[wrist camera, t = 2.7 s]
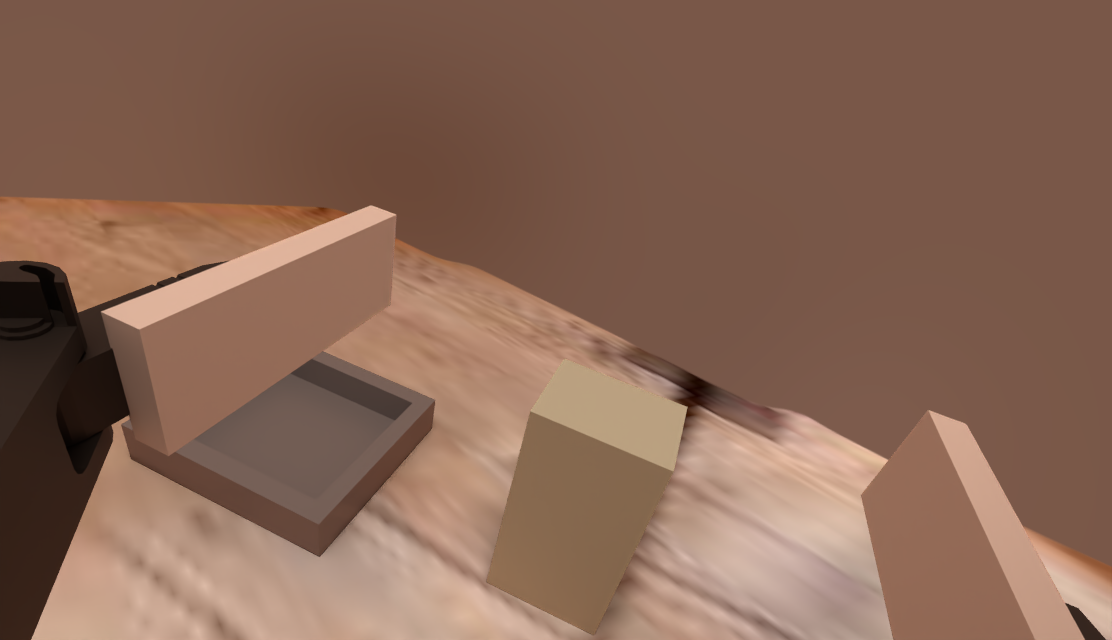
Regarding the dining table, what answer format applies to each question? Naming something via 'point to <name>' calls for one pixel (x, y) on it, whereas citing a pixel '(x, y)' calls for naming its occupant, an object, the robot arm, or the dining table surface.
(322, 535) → the grey tray
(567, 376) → the tan rectangular block
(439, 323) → the dining table surface
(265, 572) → the dining table surface
